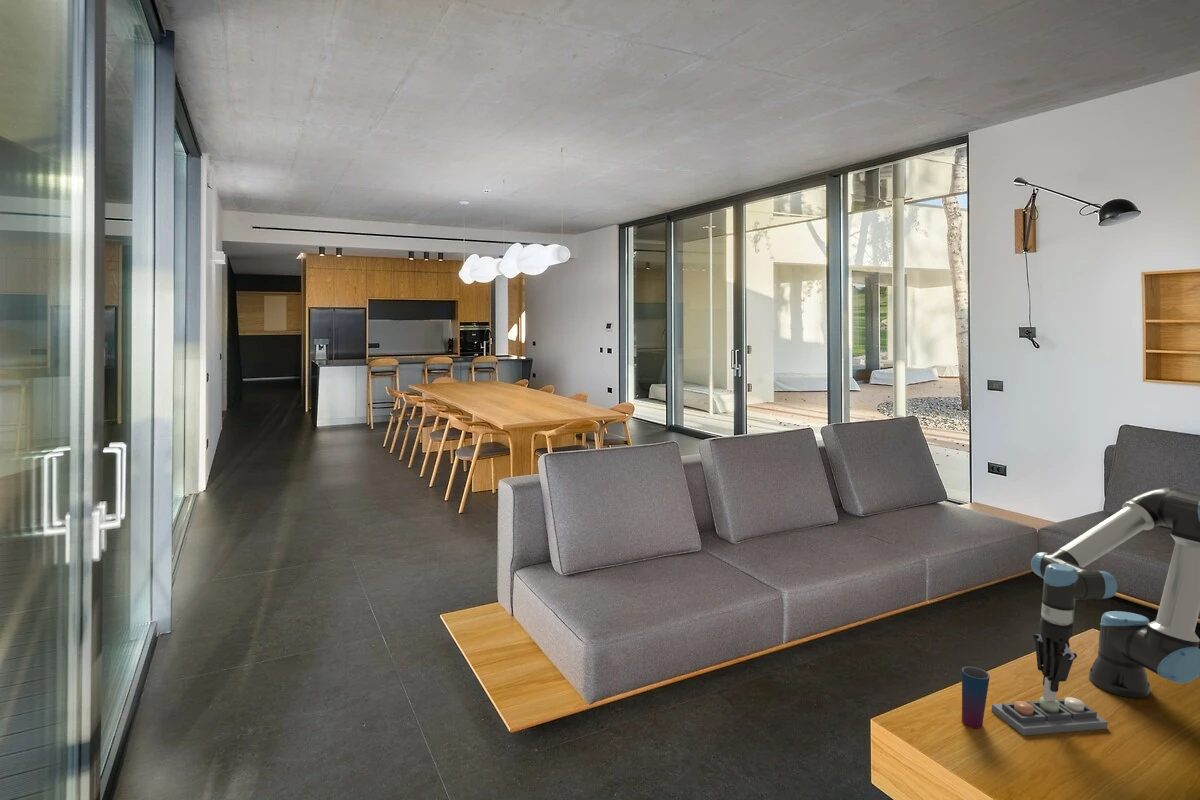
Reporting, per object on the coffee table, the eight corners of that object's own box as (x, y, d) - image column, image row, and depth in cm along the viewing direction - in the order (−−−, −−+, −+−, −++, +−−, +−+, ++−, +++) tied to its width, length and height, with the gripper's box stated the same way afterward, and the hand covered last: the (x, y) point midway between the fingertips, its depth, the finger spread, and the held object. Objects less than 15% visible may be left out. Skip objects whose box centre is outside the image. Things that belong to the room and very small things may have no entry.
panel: (1071, 704, 199) (1072, 693, 198) (1107, 728, 187) (1108, 716, 186) (991, 710, 195) (992, 699, 195) (1022, 735, 183) (1023, 723, 183)
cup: (989, 731, 185) (993, 680, 183) (962, 728, 186) (966, 677, 184) (980, 717, 191) (984, 667, 190) (955, 714, 193) (958, 665, 191)
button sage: (1049, 703, 193) (1050, 695, 193) (1062, 712, 189) (1063, 704, 188) (1035, 704, 192) (1036, 696, 192) (1048, 713, 188) (1048, 705, 188)
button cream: (1074, 704, 194) (1075, 696, 194) (1087, 713, 190) (1088, 705, 189) (1060, 705, 194) (1060, 697, 193) (1073, 714, 189) (1074, 706, 189)
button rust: (1024, 708, 192) (1025, 700, 192) (1037, 717, 188) (1037, 709, 187) (1010, 709, 191) (1010, 701, 191) (1022, 718, 187) (1022, 710, 187)
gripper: (1026, 610, 194) (1020, 688, 196) (1063, 631, 181) (1056, 713, 183) (1050, 609, 195) (1043, 686, 197) (1088, 629, 182) (1080, 711, 184)
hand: (1049, 699), depth 190 cm, fingers closed
